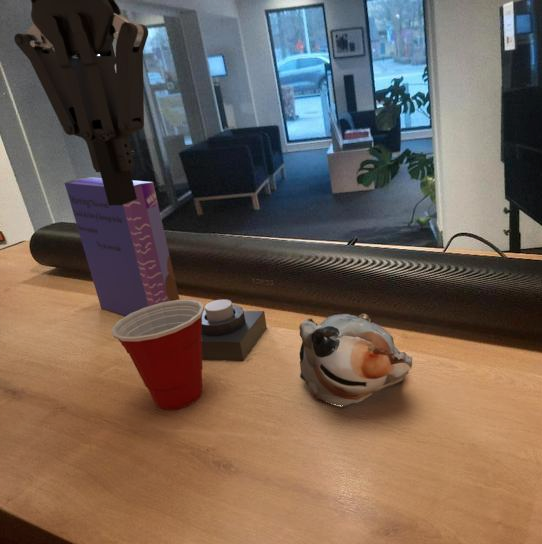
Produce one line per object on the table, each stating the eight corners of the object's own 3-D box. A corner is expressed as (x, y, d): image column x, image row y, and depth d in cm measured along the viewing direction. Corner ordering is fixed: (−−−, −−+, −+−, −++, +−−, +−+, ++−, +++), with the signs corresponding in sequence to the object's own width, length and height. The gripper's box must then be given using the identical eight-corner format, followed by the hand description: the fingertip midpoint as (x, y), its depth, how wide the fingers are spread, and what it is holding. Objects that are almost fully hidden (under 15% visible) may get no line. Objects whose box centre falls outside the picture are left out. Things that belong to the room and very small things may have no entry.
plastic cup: (179, 366, 71) (161, 291, 67) (237, 383, 67) (222, 302, 62) (114, 410, 63) (89, 327, 58) (176, 433, 58) (153, 343, 53)
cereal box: (183, 315, 87) (152, 180, 78) (160, 327, 84) (125, 187, 75) (124, 298, 96) (91, 175, 87) (101, 308, 93) (64, 181, 84)
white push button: (202, 322, 74) (200, 310, 73) (214, 310, 78) (211, 299, 77) (227, 323, 73) (225, 310, 73) (238, 311, 77) (236, 299, 76)
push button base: (167, 358, 74) (160, 329, 72) (199, 326, 83) (193, 299, 81) (243, 361, 72) (237, 331, 70) (267, 328, 81) (262, 300, 79)
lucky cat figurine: (419, 362, 68) (435, 302, 58) (387, 440, 61) (399, 388, 50) (321, 323, 71) (319, 260, 61) (280, 393, 64) (270, 335, 54)
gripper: (-42, -58, 42) (44, 212, 51) (92, -79, 39) (158, 210, 48) (29, -41, 49) (94, 195, 57) (147, -57, 46) (196, 192, 55)
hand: (123, 201), depth 53 cm, fingers closed
